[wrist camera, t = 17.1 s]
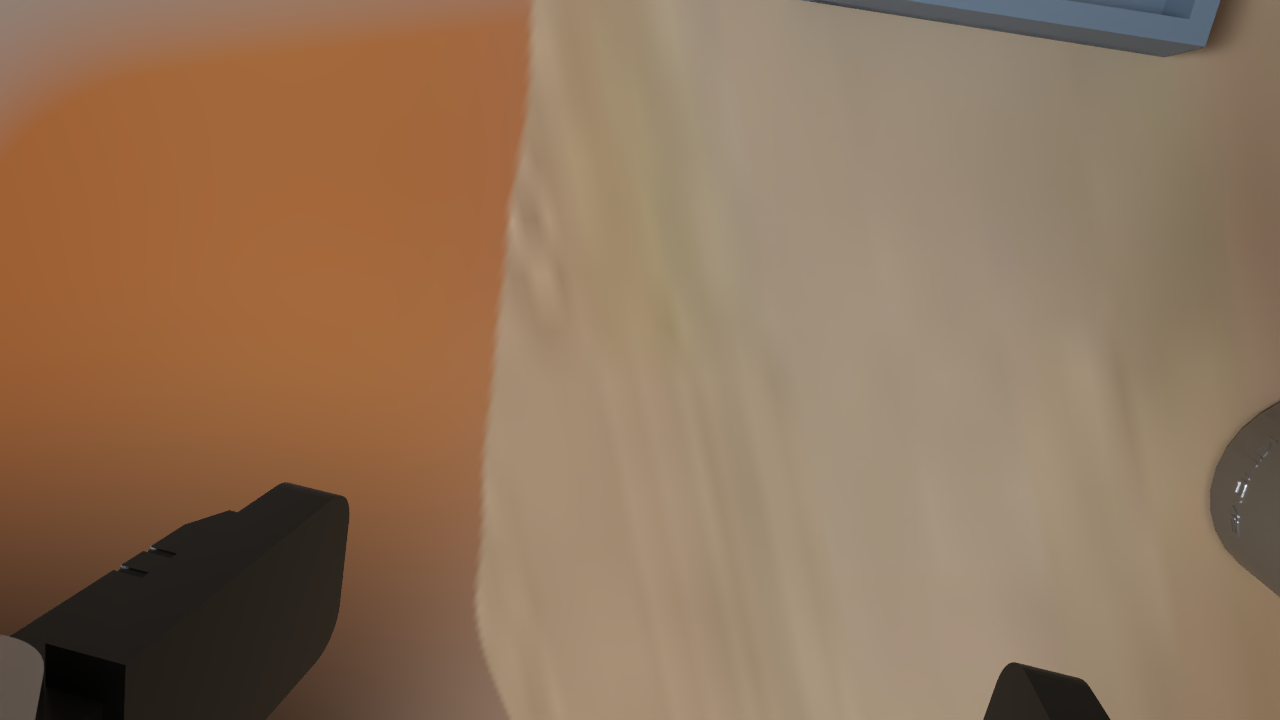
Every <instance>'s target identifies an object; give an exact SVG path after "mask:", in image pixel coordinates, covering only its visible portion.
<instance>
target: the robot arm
mask: <svg viewBox="0 0 1280 720" xmlns="http://www.w3.org/2000/svg"><path fill="white" fill-rule="evenodd" d="M1210 511H1211V515H1212V519H1213V523H1214V527H1215V531H1216V532H1217V534H1218V536H1219V538H1220V540H1221V542H1222V543H1223V545H1224V547H1225V549H1226V550H1227V551H1228V552H1229V553H1230V554H1231V555H1232V556H1233V557H1234V558H1235V560H1236V561H1237V562H1238V563H1239V564H1240V565H1242V566H1243V567H1244V568H1245V569H1246V570H1248V571H1249V572H1250V573H1251V574H1252V575H1254V576H1255V577H1256V578H1257V579H1258V580H1260V581H1261V582H1262V583H1263V584H1264V585H1266V586H1267V587H1268V588H1269V589H1270V590H1272V591H1273V592H1274V593H1275V594H1276V595H1278V596H1279V597H1280V403H1278V404H1276V405H1274V406H1273V407H1271V408H1269V409H1267V410H1266V411H1264V412H1262V413H1260V414H1259V415H1258V416H1257V417H1256V418H1255V419H1253V420H1252V421H1251V422H1250V423H1249V424H1247V425H1246V426H1245V427H1244V428H1243V429H1241V431H1240V432H1239V433H1238V434H1237V436H1236V437H1235V438H1234V439H1233V441H1232V442H1231V443H1230V444H1229V446H1228V447H1227V448H1226V450H1225V452H1224V454H1223V456H1222V458H1221V460H1220V461H1219V463H1218V465H1217V467H1216V470H1215V474H1214V478H1213V482H1212V486H1211V490H1210ZM348 524H349V505H348V502H347V499H346V498H345V497H343V496H341V495H337V494H332V493H328V492H324V491H320V490H316V489H312V488H308V487H304V486H300V485H296V484H292V483H286V482H285V483H281V484H279V485H277V486H276V487H274V488H273V489H271V490H270V491H268V492H267V493H265V494H264V495H263V496H261V497H260V498H258V499H257V500H256V501H254V502H252V503H251V504H249V505H248V506H247V507H245V508H243V509H242V510H240V511H239V512H234V511H230V510H229V511H226V512H223V513H219V514H216V515H213V516H210V517H207V518H204V519H201V520H198V521H195V522H191V523H188V524H185V525H183V526H182V527H180V528H179V529H177V530H176V531H174V532H172V533H171V534H169V535H168V536H166V537H165V538H163V539H161V540H160V541H158V542H157V543H155V544H154V545H152V546H150V550H149V551H148V552H145V551H143V552H141V553H140V554H138V555H136V556H135V557H133V558H132V559H130V560H129V561H127V562H126V563H124V564H122V565H121V567H120V570H119V571H115V570H113V571H111V572H110V573H108V574H107V575H105V576H104V577H102V578H100V579H99V580H97V581H96V582H94V583H92V584H91V585H89V586H88V587H87V588H85V589H83V590H81V591H80V592H78V593H77V594H75V595H74V596H72V597H71V598H69V599H67V600H66V601H64V602H63V603H61V604H60V605H58V606H56V607H55V608H53V609H52V610H50V611H49V612H47V613H45V614H44V615H42V616H41V617H39V618H38V619H36V620H34V621H33V622H32V623H30V624H28V625H27V626H25V627H24V628H22V629H20V630H19V631H17V632H16V633H14V634H13V635H11V636H9V637H8V636H4V635H0V720H266V719H267V718H268V716H269V715H270V714H271V713H272V712H273V711H274V709H275V708H276V707H277V706H278V705H279V704H280V703H281V701H282V700H283V699H284V698H285V697H286V696H287V695H288V693H289V692H290V691H291V690H292V689H293V688H294V687H295V686H296V684H297V683H298V682H299V681H300V680H301V679H302V678H303V676H304V675H305V674H306V673H307V672H308V671H309V669H310V668H311V667H312V666H313V665H314V664H315V662H316V661H317V660H318V659H319V657H320V656H321V655H322V653H323V651H324V650H325V648H326V646H327V644H328V642H329V640H330V638H331V635H332V633H333V630H334V627H335V624H336V621H337V616H338V613H339V606H340V598H341V587H342V579H343V570H344V561H345V552H346V542H347V533H348ZM983 720H1110V718H1109V717H1108V715H1107V714H1106V712H1105V710H1104V709H1103V707H1102V706H1101V704H1100V703H1099V701H1098V699H1097V698H1096V696H1095V695H1094V693H1093V692H1092V690H1091V688H1090V687H1089V686H1088V684H1087V683H1086V682H1085V681H1084V680H1082V679H1080V678H1077V677H1072V676H1068V675H1064V674H1060V673H1056V672H1052V671H1048V670H1044V669H1040V668H1036V667H1032V666H1028V665H1024V664H1019V663H1010V664H1008V665H1007V666H1006V667H1005V668H1004V669H1003V670H1002V672H1001V674H1000V676H999V678H998V680H997V683H996V686H995V689H994V691H993V694H992V697H991V700H990V703H989V705H988V708H987V711H986V714H985V717H984V719H983Z"/></svg>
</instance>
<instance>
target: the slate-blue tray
mask: <svg viewBox="0 0 1280 720" xmlns="http://www.w3.org/2000/svg"><path fill="white" fill-rule="evenodd" d="M804 1H811V2H817V3H823V4H830V5H836V6H842V7H849V8H855V9H861V10H868V11H874V12H880V13H887V14H893V15H900V16H906V17H912V18H919V19H925V20H931V21H938V22H944V23H950V24H957V25H963V26H969V27H976V28H982V29H989V30H995V31H1001V32H1008V33H1014V34H1020V35H1027V36H1033V37H1039V38H1046V39H1052V40H1058V41H1065V42H1071V43H1078V44H1084V45H1090V46H1097V47H1103V48H1109V49H1116V50H1122V51H1128V52H1135V53H1141V54H1148V55H1154V56H1160V57H1166V56H1170V55H1174V54H1178V53H1182V52H1186V51H1190V50H1194V49H1198V48H1202V47H1205V46H1206V43H1207V40H1208V37H1209V34H1210V31H1211V28H1212V25H1213V22H1214V19H1215V16H1216V12H1217V9H1218V6H1219V3H1220V0H804Z"/></svg>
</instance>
